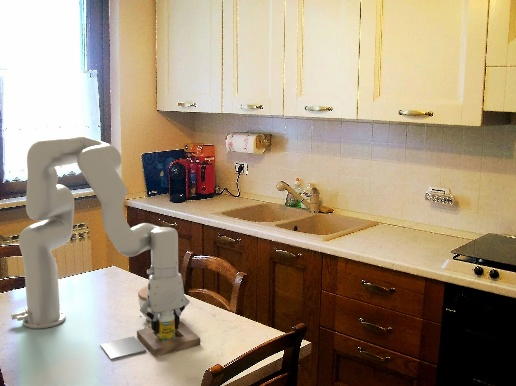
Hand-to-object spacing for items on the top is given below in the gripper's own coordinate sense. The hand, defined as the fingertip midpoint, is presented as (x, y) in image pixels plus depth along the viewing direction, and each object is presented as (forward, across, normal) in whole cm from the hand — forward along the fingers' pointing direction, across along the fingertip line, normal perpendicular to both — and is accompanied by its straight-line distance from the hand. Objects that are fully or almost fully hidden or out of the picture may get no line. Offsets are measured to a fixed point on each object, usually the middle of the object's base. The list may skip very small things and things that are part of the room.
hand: (165, 329), depth 165 cm
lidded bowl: (+4, +5, +17) cm, 18 cm away
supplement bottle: (+3, 0, 0) cm, 3 cm away
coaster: (+4, -12, +2) cm, 13 cm away
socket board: (+4, +1, 0) cm, 4 cm away
